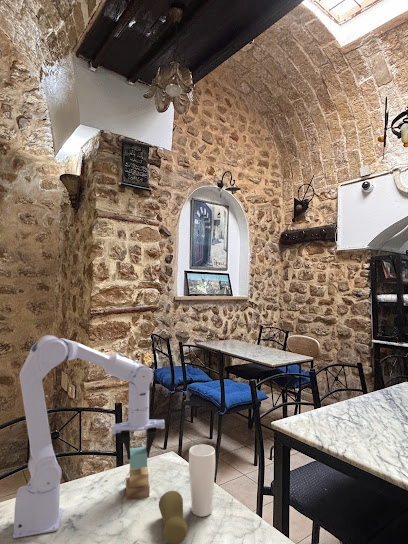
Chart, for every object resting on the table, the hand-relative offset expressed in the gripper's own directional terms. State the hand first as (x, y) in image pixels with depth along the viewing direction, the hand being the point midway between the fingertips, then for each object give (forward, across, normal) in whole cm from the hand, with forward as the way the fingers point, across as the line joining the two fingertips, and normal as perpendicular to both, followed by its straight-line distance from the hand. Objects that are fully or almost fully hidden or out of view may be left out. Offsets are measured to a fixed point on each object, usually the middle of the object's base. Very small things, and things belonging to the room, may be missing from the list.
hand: (138, 456), depth 94 cm
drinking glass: (+10, +15, -13) cm, 22 cm away
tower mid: (+7, 0, 0) cm, 7 cm away
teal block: (+2, 0, 0) cm, 2 cm away
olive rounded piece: (+6, +7, -12) cm, 16 cm away
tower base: (+10, 0, 0) cm, 10 cm away
